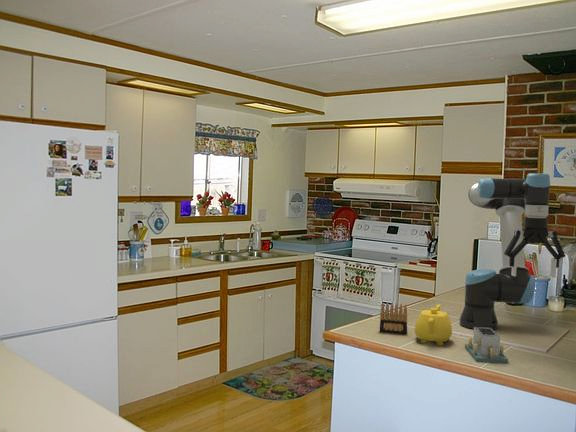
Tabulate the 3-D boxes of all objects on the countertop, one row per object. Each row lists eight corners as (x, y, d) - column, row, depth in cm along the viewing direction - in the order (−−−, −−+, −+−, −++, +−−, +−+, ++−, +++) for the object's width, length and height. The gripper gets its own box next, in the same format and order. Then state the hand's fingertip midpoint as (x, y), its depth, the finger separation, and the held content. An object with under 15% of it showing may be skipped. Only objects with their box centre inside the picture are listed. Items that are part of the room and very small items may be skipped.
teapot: (454, 335, 210) (456, 304, 209) (448, 350, 192) (449, 316, 191) (420, 331, 215) (421, 300, 215) (410, 345, 197) (411, 311, 196)
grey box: (473, 346, 193) (474, 326, 193) (490, 347, 193) (491, 327, 192) (480, 356, 182) (481, 335, 182) (499, 357, 182) (500, 336, 181)
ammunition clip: (407, 333, 212) (408, 303, 211) (406, 334, 210) (407, 304, 209) (379, 331, 215) (380, 301, 214) (379, 332, 213) (380, 302, 212)
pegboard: (464, 347, 195) (465, 334, 195) (494, 348, 195) (494, 335, 194) (476, 361, 181) (476, 347, 180) (507, 362, 180) (508, 348, 179)
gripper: (503, 217, 188) (500, 277, 190) (577, 218, 186) (574, 279, 188) (496, 215, 195) (494, 273, 197) (568, 217, 194) (564, 275, 195)
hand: (533, 276), depth 192 cm, fingers open, 13 cm apart
